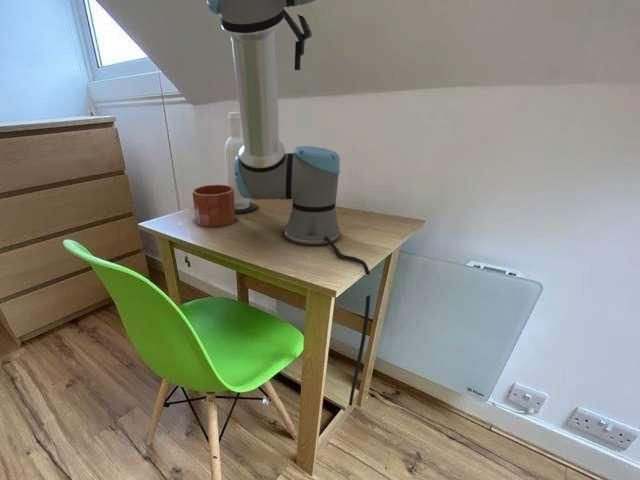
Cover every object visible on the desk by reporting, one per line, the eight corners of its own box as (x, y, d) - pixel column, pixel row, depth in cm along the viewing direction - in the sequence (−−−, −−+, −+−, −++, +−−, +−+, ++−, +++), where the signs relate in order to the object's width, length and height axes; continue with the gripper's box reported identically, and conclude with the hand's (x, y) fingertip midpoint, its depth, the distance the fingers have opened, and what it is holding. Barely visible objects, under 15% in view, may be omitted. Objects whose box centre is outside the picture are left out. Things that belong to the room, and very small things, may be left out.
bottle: (250, 203, 126) (248, 111, 110) (248, 209, 119) (246, 112, 103) (229, 203, 127) (223, 112, 111) (226, 210, 120) (220, 113, 104)
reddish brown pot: (242, 221, 111) (241, 190, 106) (207, 230, 106) (204, 197, 100) (222, 211, 121) (220, 182, 115) (189, 219, 115) (185, 189, 110)
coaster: (263, 208, 121) (263, 207, 121) (232, 216, 116) (232, 214, 115) (243, 201, 131) (243, 199, 130) (214, 207, 125) (214, 206, 125)
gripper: (327, -32, 87) (320, 68, 98) (240, -15, 97) (243, 74, 108) (319, -39, 81) (312, 68, 92) (227, -21, 91) (232, 74, 103)
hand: (275, 71), depth 100 cm, fingers open, 13 cm apart
